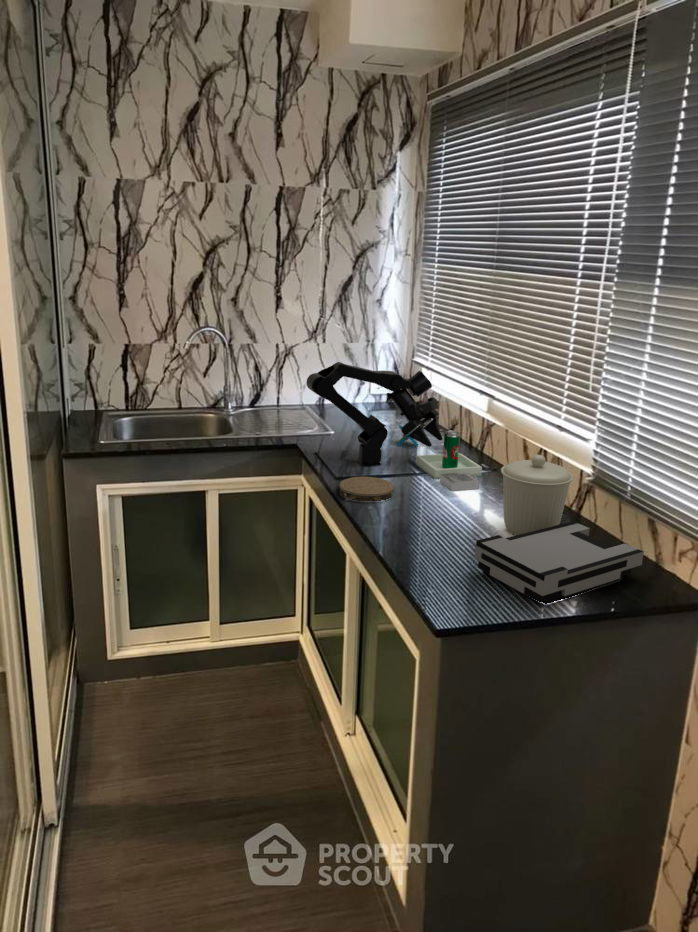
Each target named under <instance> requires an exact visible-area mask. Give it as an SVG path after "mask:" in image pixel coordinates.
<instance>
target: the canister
mask: <svg viewBox="0 0 698 932" xmlns="http://www.w3.org/2000/svg"><path fill="white" fill-rule="evenodd" d="M500 473H501V474H502V476H503V477H502V489H503V490H502V493H503V494H502V495H503V496H502V497H503V498H502V499H503V522H504V525H505V526H504V527H505V528H506V531H508V533H510V534H512V536H516V535H520V534H524V533H528V532H532V531H536V530H540V529H544V528H548V527H552V526H556V525H560V524H561V520H562V517H563V512H564V509H565V505H566V500H567V496H568V494H569V493H568V492H569V488H570V485H571V483H572V482H573V481H574V479H575V478H574V475H573V473H571V472H570V471H569V470H568V469H566V468H565V467H564V466H561V465H559V464H556V463H553V462H550V461H549V462H548V461H546V457H545V456H543V455H541V454H535V455H533V456H532V457H531V459H523V460H516V461H512V462H509V463H507V464H505V465H503V466H502V467H501V468H500Z"/></svg>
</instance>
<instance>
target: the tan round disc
mask: <svg viewBox="0 0 698 932" xmlns="http://www.w3.org/2000/svg"><path fill="white" fill-rule="evenodd" d="M338 490H339V493H340V494H341V495H342V496H343V497H346V498H349V499H352V500H358V501H381V500H386V499H389V498H391V497H392V496H393V497H394V490H395V487H394V484H393V483H392V482H391V481H389V480H387V479H383V478H380V477H372V476H354V477H353V476H352V477H349V478H344V479H343V480H341V481H340V482H339V489H338ZM340 494H339V495H340ZM393 497H392V498H393ZM392 498H391V499H392Z"/></svg>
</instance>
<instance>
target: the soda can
mask: <svg viewBox="0 0 698 932" xmlns="http://www.w3.org/2000/svg"><path fill="white" fill-rule="evenodd" d="M460 442H461V435H460V432H459V431H457V430H446V431H445V433H444V434H443V445H442V446H443V447H442V454H443V457H442V467H443V468H444V469H446V468H457V467H458V455H459V453H460V452H459V451H460Z"/></svg>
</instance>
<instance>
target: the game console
mask: <svg viewBox="0 0 698 932" xmlns="http://www.w3.org/2000/svg"><path fill="white" fill-rule="evenodd" d="M589 534H590V527H587V526H585V525H583V524H580V523H578V522H576V521H567V522H565V523H560V524H559V525H556V526H552V527H548V528H544V529H540V530H536V531H532V532H528V533H524V534H520V535H516V536H515V535H512V536H508V537H504V536H502V535H500V534H498V535H492V536H489V537H485V538H479V539H476V541H475V549H474V550H475V553H474V559H475V560H476V561H478V563H477V568H478V569H480V570H481V571H483V572H484V573H485V574H487V575H488V576H490V577H492V578H494V579H495V580H497V581H499V582H501V583H504V584H505V585H507V586H509V587H511V588H512V589H514V590H515V591H518V592H520V593H521V594H524V595H525V594H526V595H528V596H530V597H531V598H533V599H535V600H537V601H539V602H543V603H545V604H547V603H551V602H554V601H557V600H561V599H565V598H569V597H572V596H575V595H578V594H581V593H584V592H587V591H589V590H592V589H594V588H597V587H600V586H602V585H605V584H608V583H610V582H612V581H614V580H617V579H620V578H623V579H624V577H625V576H627V575H629V574H631V572H632V569H633V568H636V567H639V566H642V565H643V561H644V560H643V559H644V552H645V551H643V550H641V549H639V548H637V547H634V546H632V545H629V544H627V543H621V544H618V545H615V546H612V545H610V544H608V543H606V542H604V541H601V540H598V539H596V538H594V537H592V536H590V535H589ZM526 595H525V596H526ZM528 596H527V597H528ZM531 598H530V599H531ZM533 599H532V600H533ZM535 600H534V601H535ZM537 601H536V602H537Z"/></svg>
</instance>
